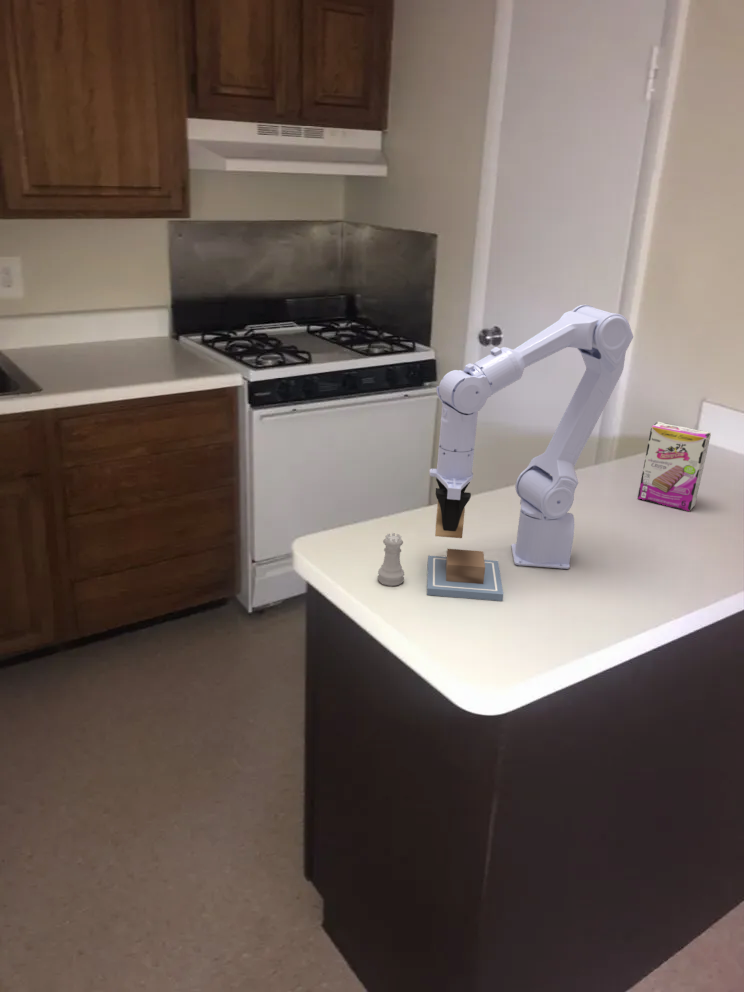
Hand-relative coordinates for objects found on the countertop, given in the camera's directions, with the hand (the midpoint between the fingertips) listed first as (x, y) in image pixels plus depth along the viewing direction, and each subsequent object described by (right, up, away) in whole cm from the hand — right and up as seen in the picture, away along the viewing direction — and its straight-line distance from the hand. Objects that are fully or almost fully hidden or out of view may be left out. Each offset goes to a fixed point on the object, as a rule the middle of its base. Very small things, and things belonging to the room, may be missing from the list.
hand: (449, 524), depth 138 cm
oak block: (0, -1, +1) cm, 1 cm away
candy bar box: (+49, +3, +37) cm, 62 cm away
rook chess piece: (-10, -9, -2) cm, 14 cm away
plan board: (+2, -9, 0) cm, 10 cm away
